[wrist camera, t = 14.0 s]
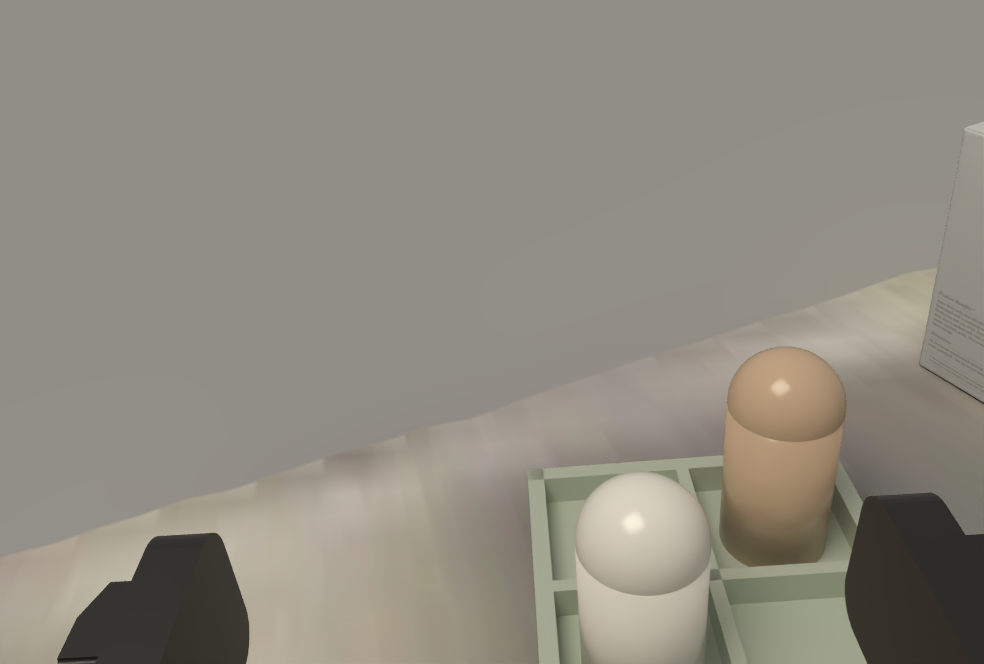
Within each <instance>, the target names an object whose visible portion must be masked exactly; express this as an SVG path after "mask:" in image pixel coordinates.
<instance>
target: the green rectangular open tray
mask: <svg viewBox="0 0 984 664" xmlns="http://www.w3.org/2000/svg"><path fill="white" fill-rule="evenodd" d="M723 457H724V455H721V456H708V457H694V458H681V459H667V460H654V461H641V462H627V463H614V464H600V465H587V466H573V467H560V468H546V469H533V470H528V484H529V500H530V517H531V534H532V550H533V567H534V583H535V600H536V616H537V633H538V650H539V664H581V648H580V630H579V611H578V593H577V575H576V557H575V527H576V522H577V518H578V515H579V512H580V510H581V508H582V506H583V504H584V502H585V501H586V499H587V498H588V497H589V495H590V494H591V493H592V492H593V491H594V490H595V489H596V488H597V487H598V486H599V485H601V484H602V483H603V482H605V481H607V480H609V479H610V478H612V477H614V476H617V475H620V474H623V473H628V472H636V471H644V472H653V473H657V474H661V475H664V476H666V477H669V478H671V479H673V480H674V481H676V482H678V483H679V484H681V485H682V486H684V487H685V488H686V489H687V490H688V491H689V492H690V493H691V494H692V495H693V496H694V497H695V498H696V500H697V501H698V503H699V504H700V506H701V507H702V509H703V511H704V513H705V515H706V518H707V520H708V523H709V528H710V532H711V563H710V580H709V596H708V612H707V628H706V644H705V661H704V664H867V662H866V660H865V658H864V655H863V653H862V651H861V649H860V646H859V644H858V642H857V640H856V637H855V635H854V633H853V630H852V628H851V625H850V621H849V618H848V614H847V609H846V602H845V578H846V573H847V569H848V565H849V560H850V556H851V552H852V547H853V543H854V538H855V534H856V530H857V525H858V521H859V517H860V512H861V508H862V505H863V502H862V500H861V498H860V496H859V495H858V493H857V491H856V489H855V487H854V485H853V483H852V482H851V480H850V478H849V476H848V474H847V472H846V471H845V469H844V467H843V465H842V463H841V461H840V460H839V461H838V467H837V473H836V480H835V486H834V493H833V499H832V506H831V512H830V518H829V525H828V531H827V538H826V544H825V549H824V553H823V555H822V557H821V558H820V559H819V561H818V562H817V563H803V564H788V565H774V566H759V567H748V566H746V565H744V564H742V563H741V562H739V561H738V560H736V559H735V558H734V557H733V556H732V555H730V554H729V553H728V551H727V550H726V549H725V547H724V546H723V544H722V542H721V539H720V536H719V520H720V504H721V488H722V473H723Z"/></svg>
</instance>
